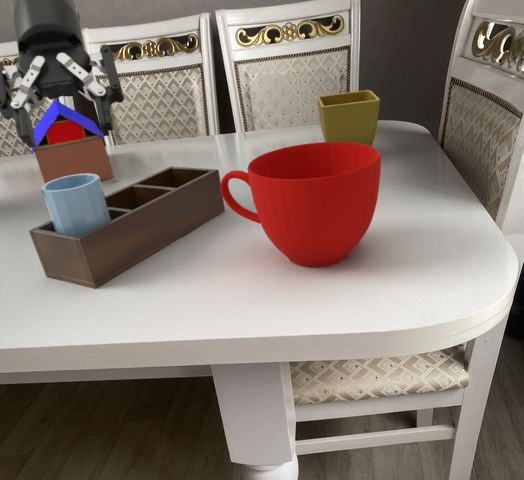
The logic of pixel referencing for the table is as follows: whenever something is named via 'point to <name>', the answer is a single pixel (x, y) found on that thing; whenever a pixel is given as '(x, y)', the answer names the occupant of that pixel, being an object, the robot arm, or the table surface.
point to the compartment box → (132, 226)
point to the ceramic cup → (312, 198)
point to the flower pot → (349, 117)
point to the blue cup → (76, 203)
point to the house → (69, 145)
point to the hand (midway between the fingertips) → (67, 137)
